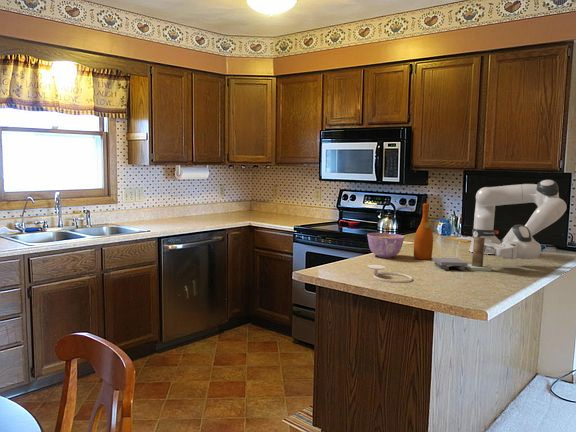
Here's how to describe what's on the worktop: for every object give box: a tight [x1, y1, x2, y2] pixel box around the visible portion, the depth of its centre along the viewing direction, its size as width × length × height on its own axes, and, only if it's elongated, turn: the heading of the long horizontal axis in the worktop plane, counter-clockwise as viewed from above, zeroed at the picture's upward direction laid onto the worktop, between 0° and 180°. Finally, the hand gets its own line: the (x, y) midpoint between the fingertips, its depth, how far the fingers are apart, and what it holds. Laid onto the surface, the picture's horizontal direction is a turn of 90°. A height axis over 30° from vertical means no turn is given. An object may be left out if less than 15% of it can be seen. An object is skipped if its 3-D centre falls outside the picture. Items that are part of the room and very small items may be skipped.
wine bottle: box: [413, 202, 434, 261], centre depth 265 cm, size 10×10×30 cm
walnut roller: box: [471, 237, 485, 267], centre depth 243 cm, size 5×5×14 cm
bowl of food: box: [366, 232, 405, 259], centre depth 268 cm, size 20×20×12 cm
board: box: [464, 263, 493, 272], centre depth 244 cm, size 10×10×2 cm
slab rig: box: [431, 256, 469, 272], centre depth 243 cm, size 13×13×4 cm
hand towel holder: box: [367, 264, 413, 284], centre depth 216 cm, size 17×4×21 cm
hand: (480, 248), depth 243 cm, fingers open, 8 cm apart
